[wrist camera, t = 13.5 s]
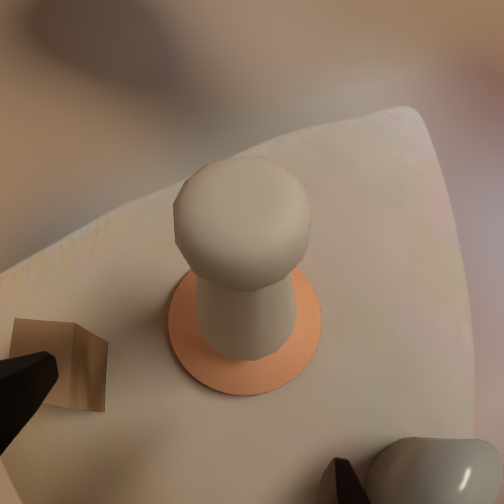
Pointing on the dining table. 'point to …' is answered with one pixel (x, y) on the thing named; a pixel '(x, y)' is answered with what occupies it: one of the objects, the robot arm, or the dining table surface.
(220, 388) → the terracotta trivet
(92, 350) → the walnut block
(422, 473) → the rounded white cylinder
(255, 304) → the salt shaker
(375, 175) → the dining table surface
